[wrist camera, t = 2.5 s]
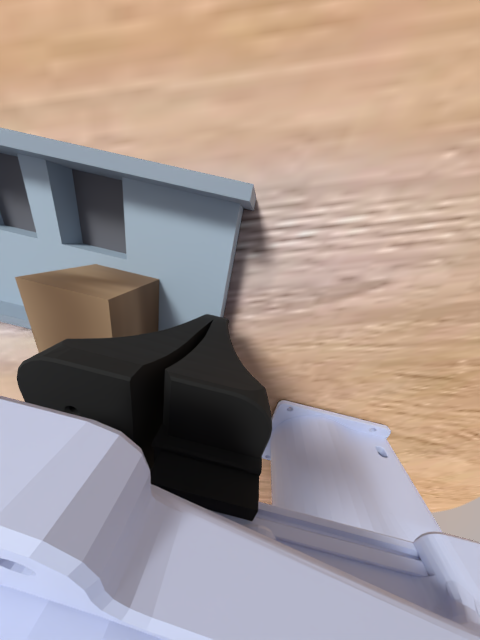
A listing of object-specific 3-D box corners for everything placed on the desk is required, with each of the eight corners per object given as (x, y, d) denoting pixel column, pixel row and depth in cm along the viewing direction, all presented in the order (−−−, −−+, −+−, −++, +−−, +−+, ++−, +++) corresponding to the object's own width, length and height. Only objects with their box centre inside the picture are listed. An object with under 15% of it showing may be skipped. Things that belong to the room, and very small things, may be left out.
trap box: (256, 198, 10) (253, 184, 7) (225, 349, 14) (216, 375, 12) (-134, 110, 11) (-270, 67, 8) (-52, 281, 15) (-122, 291, 12)
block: (159, 279, 11) (108, 299, 7) (158, 335, 13) (116, 374, 9) (95, 263, 11) (14, 277, 8) (103, 322, 13) (40, 355, 9)
